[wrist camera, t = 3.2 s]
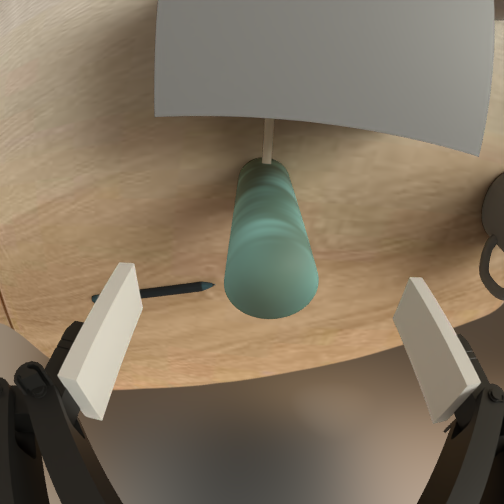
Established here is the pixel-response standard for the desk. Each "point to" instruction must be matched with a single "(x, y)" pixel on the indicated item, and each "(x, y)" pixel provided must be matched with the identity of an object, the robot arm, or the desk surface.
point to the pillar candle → (499, 9)
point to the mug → (493, 232)
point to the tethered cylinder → (268, 242)
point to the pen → (170, 290)
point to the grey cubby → (331, 64)
